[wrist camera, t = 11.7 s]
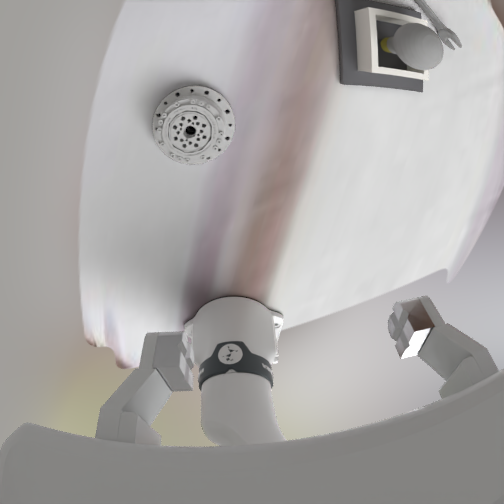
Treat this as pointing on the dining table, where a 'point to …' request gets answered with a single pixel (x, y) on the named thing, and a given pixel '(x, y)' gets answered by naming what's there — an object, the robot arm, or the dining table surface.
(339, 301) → the dining table surface
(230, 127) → the mechanical component
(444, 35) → the combination wrench
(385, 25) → the lamp base
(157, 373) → the robot arm
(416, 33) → the light bulb
